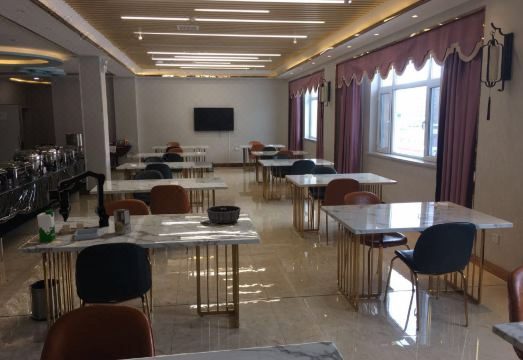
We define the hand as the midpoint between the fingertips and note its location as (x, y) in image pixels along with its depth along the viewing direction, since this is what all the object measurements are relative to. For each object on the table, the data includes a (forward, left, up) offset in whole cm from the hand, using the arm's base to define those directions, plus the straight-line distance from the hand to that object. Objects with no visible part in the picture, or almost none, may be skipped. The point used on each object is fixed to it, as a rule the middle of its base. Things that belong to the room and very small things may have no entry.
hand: (66, 220), depth 305 cm
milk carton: (+10, +18, -9) cm, 22 cm away
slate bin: (-14, +16, -9) cm, 23 cm away
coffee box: (-37, +13, -9) cm, 41 cm away
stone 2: (-9, 0, -8) cm, 12 cm away
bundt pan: (-111, +3, -9) cm, 112 cm away
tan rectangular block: (0, 0, -8) cm, 8 cm away
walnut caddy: (-4, 0, -9) cm, 10 cm away
